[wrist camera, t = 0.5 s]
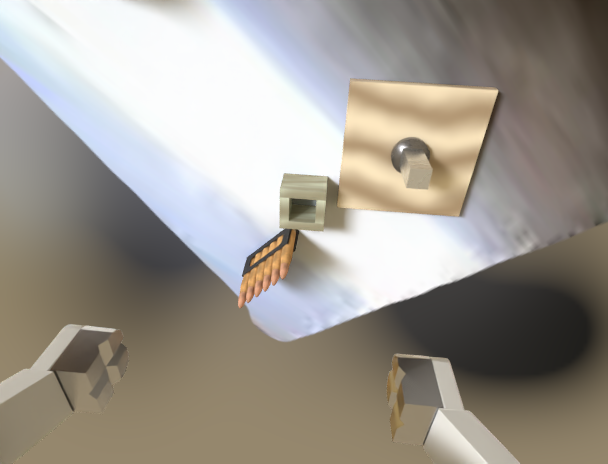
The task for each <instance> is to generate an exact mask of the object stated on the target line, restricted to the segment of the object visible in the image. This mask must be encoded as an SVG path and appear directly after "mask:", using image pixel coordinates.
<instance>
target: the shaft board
mask: <svg viewBox="0 0 608 464" xmlns="http://www.w3.org/2000/svg"><path fill="white" fill-rule="evenodd" d="M498 91H499V90H497V89H496V88H494V87H478V86H462V85H446V84H430V83H415V82H399V81H383V80H367V79H351V78H350V86H349V95H348V105H347V114H346V124H345V133H344V142H343V152H342V161H341V171H340V180H339V190H338V199H337V207H340V208H353V209H366V210H379V211H393V212H406V213H419V214H433V215H446V216H459V214H460V211H461V208H462V205H463V202H464V198H465V195H466V192H467V189H468V186H469V183H470V179H471V176H472V173H473V170H474V167H475V164H476V160H477V157H478V154H479V151H480V148H481V145H482V141H483V138H484V135H485V132H486V129H487V126H488V122H489V119H490V116H491V113H492V110H493V107H494V103H495V100H496V97H497V94H498Z"/></svg>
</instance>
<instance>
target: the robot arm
mask: <svg viewBox="0 0 608 464" xmlns="http://www.w3.org/2000/svg"><path fill="white" fill-rule="evenodd" d="M123 338H124V337H123V334H122V331H121V330H118V329H110V328H101V327H92V326H83V325H73V324H69V325H67V326H65V327H64V328H63V329H62V330H61V331H60V333H59V334H58V335H57V336H56V337H55V339H54V340H53V341H52V343H51V344H50V345H49V346H48V347H47V349H46V350H45V351H44V352H43V354H42V355H41V356H40V357H39V359H38V360H37V361H36V362H35V363H34V365H33V366H32V367H31V369H24V370H22V371H20V372H18V373H17V374H15V375H13V376H11V377H10V378H8V379H6V380H4V381H3V382H1V383H0V464H13V463H14V462H16V461H17V460H18V459H19V458H20V457H21V456H23V455H24V454H25V453H26V452H28V451H29V450H30V449H31V448H32V447H34V446H35V445H36V444H37V443H38V442H40V441H41V440H42V439H43V438H44V437H46V436H47V435H48V434H49V433H50V432H52V431H53V430H54V429H55V428H56V427H58V426H59V425H60V424H61V423H63V422H64V421H65V420H66V419H67V418H69V417H70V416H71V415H72V414H73V412H86V413H100V414H103V412H104V410H105V408H106V406H107V405H108V403H109V401H110V399H111V398H112V396H113V394H114V390H113V385H114V384H116V383H117V382H118V381H120V380H121V379H122V377H123V376H124V374H125V372H126V369H127V365H128V362H129V353H128V350H127V347H125V346H124V345H123V344H122V343H121V342H122V340H123ZM392 368H393V370H391V371H390V372H389V375H388V380H387V401H388V405H389V407H390V408H391V409H392V413H391V417H390V426H391V434H392V441H393V442H394V443H402V444H410V445H418V446H423V449H424V450H425V452H426V453H427V455H428V456H429V458H430V459H431V461H432V462H433V464H520V463H519V462H518V461H517V460H516V458H515V457H514V456H513V455H512V454H511V453H510V452H509V451H508V450H507V449H506V448H505V447H504V446H503V445H502V444H501V443H500V442H499V441H498V440H497V439H496V438H495V437H494V435H493V434H491V432H489V430H488V429H487V428H486V427H485V426H484V425H483V424H482V423H481V422H480V421H479V420H478V419H477V418H476V417H475V416H474V415H473V414H472V413H471V412H470V411H466V410H464V406H463V403H462V400H461V397H460V394H459V390H458V387H457V384H456V381H455V377H454V374H453V370H452V367H451V364H450V361H449V360H448V359H447V358H437V357H428V356H416V355H404V354H395V355H394V356H393V359H392Z"/></svg>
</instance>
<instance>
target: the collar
mask: <svg viewBox="0 0 608 464" xmlns="http://www.w3.org/2000/svg"><path fill="white" fill-rule="evenodd" d="M327 178H328V177H327V176H313V175H299V174H286V173H284V176H283V180H282V183H281V187H280V228H285V229H298V230H311V231H323V230H324V218H325V207H326V195H327ZM292 198H295V199H309V200H317V202H316V206H310V205H297V204H292Z"/></svg>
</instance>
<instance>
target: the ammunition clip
mask: <svg viewBox="0 0 608 464" xmlns="http://www.w3.org/2000/svg"><path fill="white" fill-rule="evenodd" d="M298 234H299V231H298V230H297V229H284V230H283V231H281V232H280V233H279V234H277V235H276V236H275V237H273V238H272V239H271V240H269V241H268V242H267V243H265V244H264V245H263V246H262V247H260V248H259V249H258V250H256V251H255V252H254V253H252V254H251V255H250V256H248V257H247V260H246V263H245V267H244V270H243V274H242V276H243V280H242V284H241V290H240V295H239V300H238V306H239V308H242V306H243V305H244V303H245V301H246V300H247V303H249V302H250V301H251V300H252V298H253V296H254V294H255V296H256V297H258V296H259V294H260V293H261V291H262V289H263V290H264V291H266V290H267V289H268V288H269V286H270V284H271V281H272V285H273V286H274V285H275V284H276V283H277V281H278V279H279V276H281V279H284V278H285V277H286V275H287V273H288V269H289V265H290V263H291V260H292V254H293V252H294V251H295V249H296V244H297V239H298Z"/></svg>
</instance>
